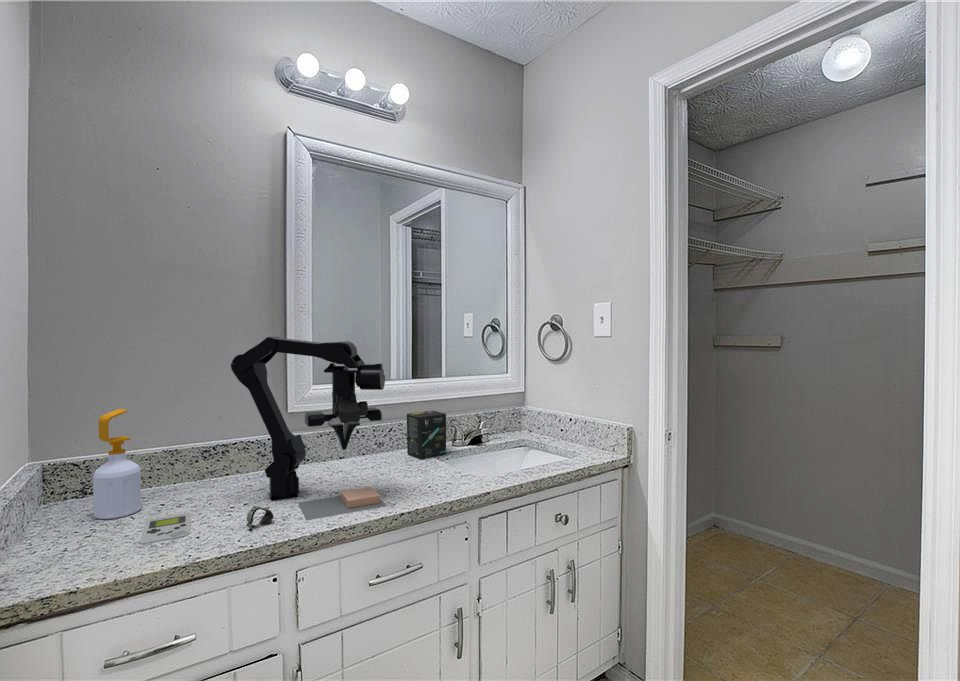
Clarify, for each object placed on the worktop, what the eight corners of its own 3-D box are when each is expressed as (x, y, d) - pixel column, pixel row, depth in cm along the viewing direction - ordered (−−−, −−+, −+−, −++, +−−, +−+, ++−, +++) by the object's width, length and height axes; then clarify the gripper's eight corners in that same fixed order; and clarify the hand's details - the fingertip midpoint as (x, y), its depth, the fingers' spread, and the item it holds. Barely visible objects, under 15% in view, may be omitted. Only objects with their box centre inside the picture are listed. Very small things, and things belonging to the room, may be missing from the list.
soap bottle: (148, 510, 118) (147, 409, 117) (104, 522, 110) (102, 414, 110) (130, 503, 123) (128, 406, 122) (86, 515, 115) (84, 411, 114)
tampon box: (432, 449, 178) (431, 409, 177) (447, 454, 171) (447, 413, 170) (406, 454, 171) (405, 413, 170) (420, 460, 164) (420, 416, 163)
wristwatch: (262, 535, 107) (276, 513, 110) (244, 524, 104) (258, 502, 107) (256, 532, 109) (270, 511, 112) (238, 522, 106) (252, 501, 109)
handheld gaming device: (139, 543, 99) (146, 518, 112) (139, 546, 99) (146, 521, 112) (189, 533, 103) (190, 511, 116) (189, 537, 103) (190, 514, 116)
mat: (306, 522, 111) (306, 520, 111) (297, 504, 122) (297, 502, 122) (387, 507, 120) (387, 505, 120) (372, 491, 131) (372, 490, 131)
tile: (348, 500, 118) (380, 495, 121) (340, 491, 125) (371, 486, 128) (348, 508, 118) (380, 503, 121) (340, 498, 125) (371, 493, 129)
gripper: (311, 395, 115) (312, 461, 115) (388, 391, 124) (388, 452, 124) (304, 390, 125) (304, 451, 125) (375, 386, 134) (375, 443, 134)
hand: (344, 449), depth 127 cm, fingers closed
